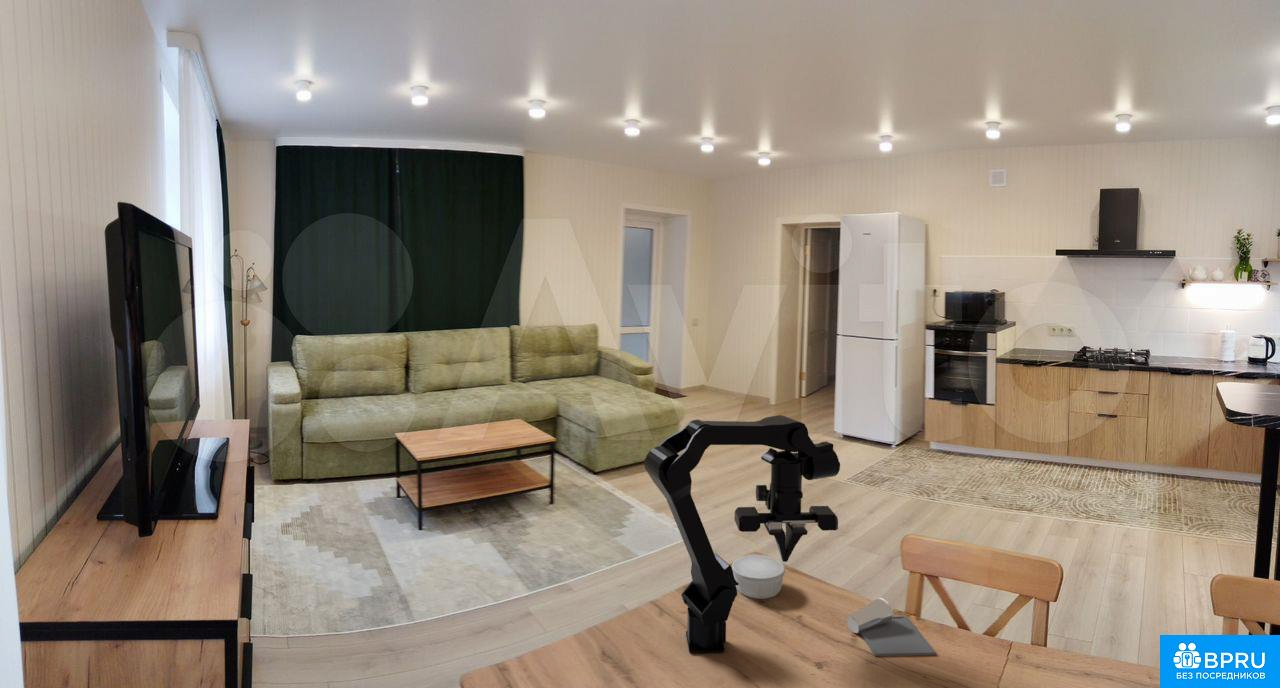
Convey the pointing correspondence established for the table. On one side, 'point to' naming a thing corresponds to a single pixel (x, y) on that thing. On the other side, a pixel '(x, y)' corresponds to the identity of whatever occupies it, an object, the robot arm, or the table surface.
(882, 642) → the mat
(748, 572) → the ramekin
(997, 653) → the table surface
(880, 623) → the milkshake
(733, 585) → the robot arm
